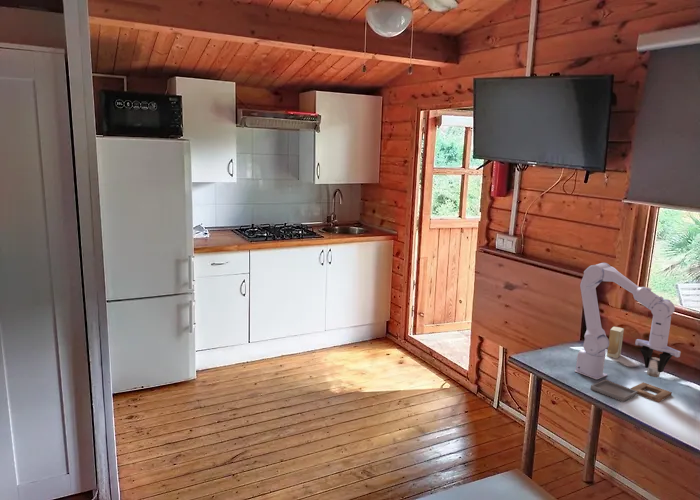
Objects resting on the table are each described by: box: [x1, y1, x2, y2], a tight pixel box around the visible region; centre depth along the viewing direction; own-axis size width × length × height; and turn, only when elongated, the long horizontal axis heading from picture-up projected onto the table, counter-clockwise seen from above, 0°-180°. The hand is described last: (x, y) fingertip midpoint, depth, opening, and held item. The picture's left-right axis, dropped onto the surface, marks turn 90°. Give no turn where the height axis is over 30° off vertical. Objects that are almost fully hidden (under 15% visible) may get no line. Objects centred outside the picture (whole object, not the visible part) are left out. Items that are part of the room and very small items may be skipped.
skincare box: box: [606, 326, 625, 359], centre depth 228 cm, size 6×4×12 cm
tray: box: [590, 379, 638, 403], centre depth 192 cm, size 12×10×2 cm
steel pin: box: [646, 356, 661, 378], centre depth 190 cm, size 4×4×6 cm
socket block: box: [630, 381, 673, 403], centre depth 192 cm, size 10×10×1 cm
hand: (653, 369), depth 190 cm, fingers closed on steel pin, 4 cm apart
